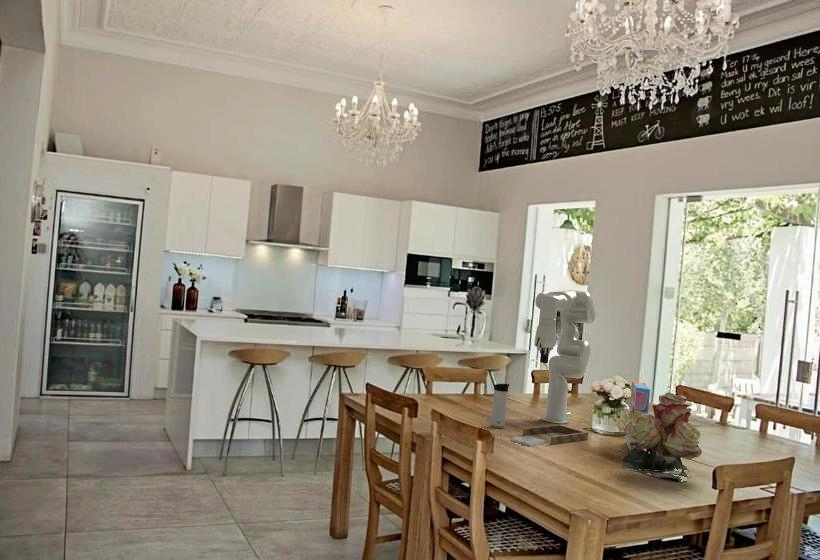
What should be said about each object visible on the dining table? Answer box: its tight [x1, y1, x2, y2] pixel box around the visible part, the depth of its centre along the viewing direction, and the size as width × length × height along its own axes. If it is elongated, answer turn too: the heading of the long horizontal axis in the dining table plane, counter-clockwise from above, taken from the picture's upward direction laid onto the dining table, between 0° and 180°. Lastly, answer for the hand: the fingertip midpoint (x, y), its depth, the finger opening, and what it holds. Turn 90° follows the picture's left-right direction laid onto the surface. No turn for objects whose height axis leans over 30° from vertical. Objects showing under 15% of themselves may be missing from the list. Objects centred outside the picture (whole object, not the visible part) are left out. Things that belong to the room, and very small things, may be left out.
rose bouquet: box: [621, 392, 703, 483], centre depth 281 cm, size 26×29×30 cm
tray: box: [522, 424, 589, 445], centre depth 321 cm, size 24×16×4 cm, turn 131°
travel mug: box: [490, 383, 510, 429], centre depth 333 cm, size 6×7×20 cm
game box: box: [625, 381, 651, 452], centre depth 316 cm, size 21×6×27 cm, turn 168°
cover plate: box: [510, 435, 548, 448], centre depth 308 cm, size 12×10×2 cm
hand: (543, 362), depth 336 cm, fingers closed
